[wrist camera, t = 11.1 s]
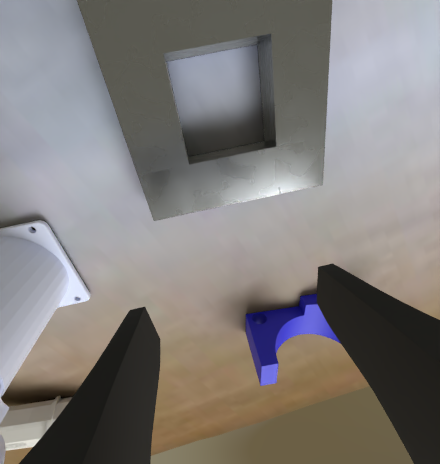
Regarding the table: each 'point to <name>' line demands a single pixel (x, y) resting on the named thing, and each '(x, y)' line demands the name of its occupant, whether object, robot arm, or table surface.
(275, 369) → the blue bearing cradle
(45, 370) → the table surface
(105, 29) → the socket block
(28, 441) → the angle grinder
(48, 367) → the table surface
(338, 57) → the table surface
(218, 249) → the table surface
